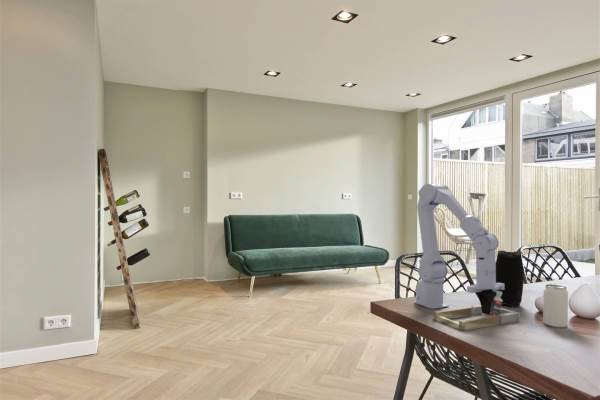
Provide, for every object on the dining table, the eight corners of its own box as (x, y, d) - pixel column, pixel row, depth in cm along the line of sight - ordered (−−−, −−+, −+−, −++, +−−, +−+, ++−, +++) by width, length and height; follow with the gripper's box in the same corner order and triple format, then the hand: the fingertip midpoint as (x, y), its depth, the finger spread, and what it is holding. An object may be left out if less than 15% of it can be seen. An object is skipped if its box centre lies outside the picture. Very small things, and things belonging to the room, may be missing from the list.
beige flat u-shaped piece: (433, 319, 131) (433, 311, 131) (467, 314, 137) (468, 306, 137) (462, 330, 120) (462, 322, 120) (498, 324, 126) (498, 316, 126)
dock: (471, 313, 138) (471, 306, 138) (488, 311, 141) (488, 303, 141) (501, 323, 127) (502, 315, 127) (519, 320, 130) (519, 313, 130)
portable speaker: (490, 301, 154) (491, 250, 154) (514, 301, 154) (515, 250, 154) (501, 307, 145) (502, 253, 145) (527, 308, 145) (528, 253, 145)
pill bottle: (493, 318, 129) (498, 291, 130) (478, 314, 133) (483, 287, 134) (502, 320, 132) (507, 293, 133) (487, 315, 136) (492, 289, 137)
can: (571, 328, 123) (572, 289, 123) (547, 327, 124) (548, 288, 124) (562, 322, 129) (562, 284, 129) (539, 320, 131) (540, 283, 131)
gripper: (479, 274, 125) (480, 318, 125) (512, 271, 131) (513, 313, 130) (461, 271, 131) (462, 313, 131) (493, 268, 137) (494, 309, 137)
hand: (486, 313), depth 131 cm, fingers closed, pressing on pill bottle
